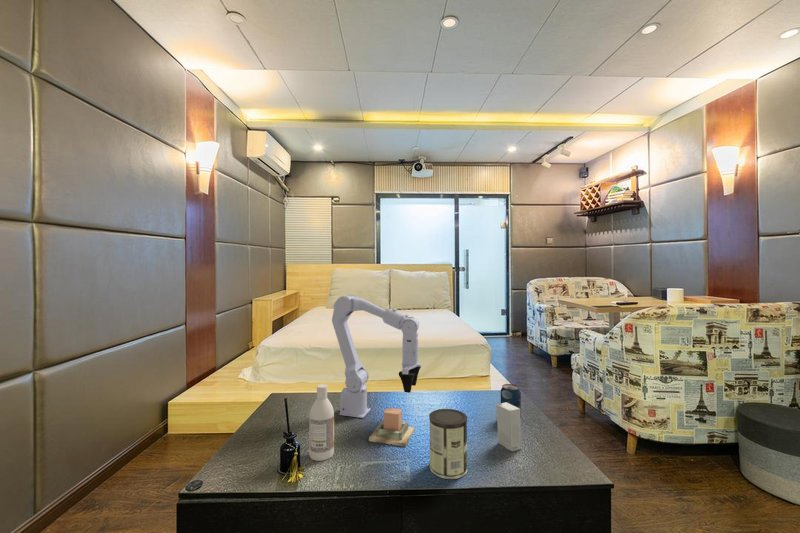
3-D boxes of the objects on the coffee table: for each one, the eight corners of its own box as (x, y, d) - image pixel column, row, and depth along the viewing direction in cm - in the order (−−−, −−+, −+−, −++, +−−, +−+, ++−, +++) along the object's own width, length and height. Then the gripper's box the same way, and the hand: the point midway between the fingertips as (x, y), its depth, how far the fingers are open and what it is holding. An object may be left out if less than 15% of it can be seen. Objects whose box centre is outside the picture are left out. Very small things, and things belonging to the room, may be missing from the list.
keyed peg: (383, 434, 110) (383, 412, 110) (387, 428, 114) (387, 407, 114) (398, 436, 109) (398, 414, 109) (401, 430, 113) (402, 409, 113)
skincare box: (522, 449, 103) (522, 408, 103) (510, 452, 101) (510, 411, 101) (507, 439, 109) (507, 401, 109) (496, 443, 107) (496, 403, 107)
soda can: (509, 426, 118) (509, 391, 119) (496, 418, 125) (496, 384, 125) (525, 422, 121) (525, 388, 121) (511, 414, 128) (511, 382, 128)
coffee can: (446, 453, 101) (446, 405, 101) (475, 469, 93) (475, 416, 93) (421, 467, 94) (421, 415, 94) (450, 485, 86) (450, 428, 86)
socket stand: (368, 441, 108) (368, 431, 108) (380, 425, 118) (380, 417, 118) (405, 446, 104) (405, 436, 104) (414, 430, 115) (414, 421, 115)
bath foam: (335, 459, 98) (336, 388, 98) (310, 463, 95) (310, 391, 95) (331, 447, 104) (332, 380, 104) (308, 451, 102) (308, 383, 102)
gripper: (416, 356, 117) (416, 396, 117) (425, 347, 131) (425, 383, 131) (396, 355, 119) (396, 394, 119) (407, 346, 133) (407, 381, 133)
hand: (410, 388), depth 125 cm, fingers open, 7 cm apart
